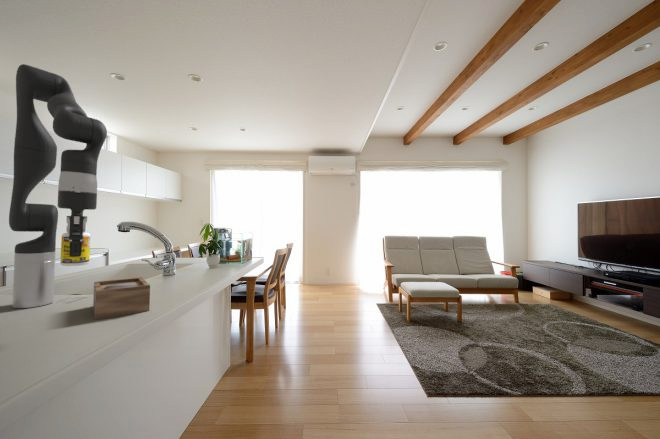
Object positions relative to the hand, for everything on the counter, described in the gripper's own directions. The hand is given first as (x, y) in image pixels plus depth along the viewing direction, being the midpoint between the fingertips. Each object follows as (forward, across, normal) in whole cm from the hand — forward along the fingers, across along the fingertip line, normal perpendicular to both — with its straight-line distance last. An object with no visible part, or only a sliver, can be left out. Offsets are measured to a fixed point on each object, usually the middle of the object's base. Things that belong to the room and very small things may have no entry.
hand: (75, 254), depth 72 cm
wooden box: (+19, -12, +11) cm, 25 cm away
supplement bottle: (+3, 0, 0) cm, 3 cm away
